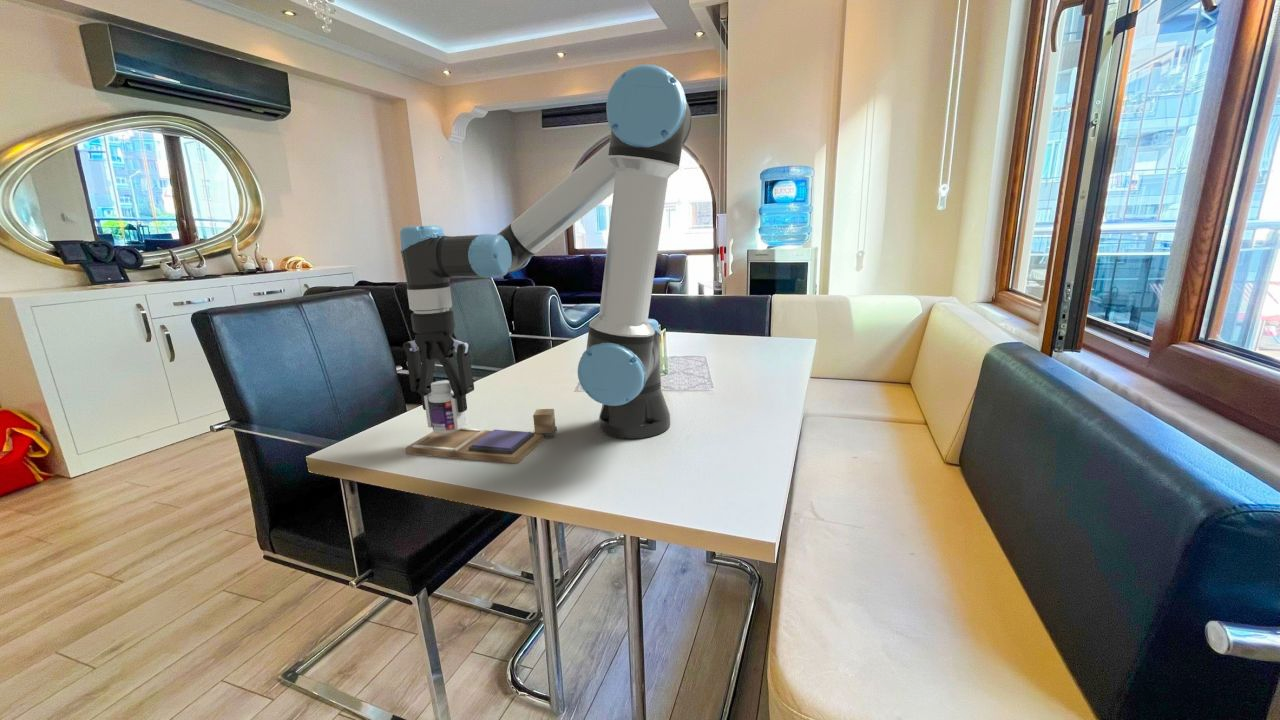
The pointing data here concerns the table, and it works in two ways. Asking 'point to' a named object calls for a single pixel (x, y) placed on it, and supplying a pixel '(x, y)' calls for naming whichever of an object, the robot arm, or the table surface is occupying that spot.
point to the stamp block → (545, 422)
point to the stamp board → (478, 445)
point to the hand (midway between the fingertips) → (447, 425)
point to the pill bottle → (441, 407)
